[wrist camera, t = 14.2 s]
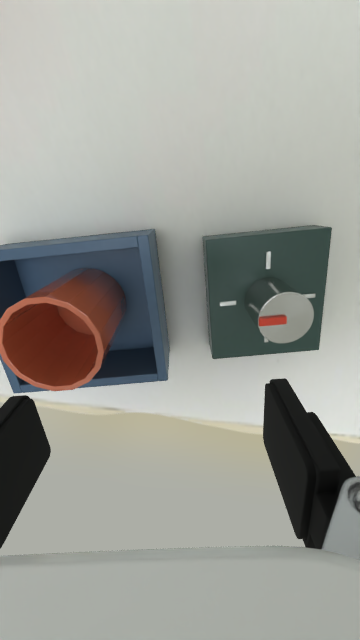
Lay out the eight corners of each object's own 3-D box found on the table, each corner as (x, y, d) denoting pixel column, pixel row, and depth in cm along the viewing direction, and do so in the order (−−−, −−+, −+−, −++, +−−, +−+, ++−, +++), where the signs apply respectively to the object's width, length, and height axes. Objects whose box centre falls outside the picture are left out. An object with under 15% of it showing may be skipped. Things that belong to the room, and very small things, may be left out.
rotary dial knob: (291, 274, 23) (318, 290, 18) (289, 318, 24) (313, 343, 20) (243, 279, 23) (259, 296, 19) (244, 322, 25) (258, 348, 20)
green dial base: (314, 225, 24) (333, 227, 21) (305, 336, 28) (319, 350, 26) (202, 236, 25) (205, 240, 22) (209, 344, 29) (212, 360, 26)
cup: (119, 264, 25) (90, 292, 16) (132, 332, 27) (111, 386, 19) (46, 271, 25) (-20, 303, 17) (65, 338, 28) (16, 394, 19)
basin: (154, 229, 24) (148, 234, 19) (169, 348, 29) (167, 380, 24) (5, 244, 25) (-42, 253, 19) (43, 359, 29) (13, 393, 24)
